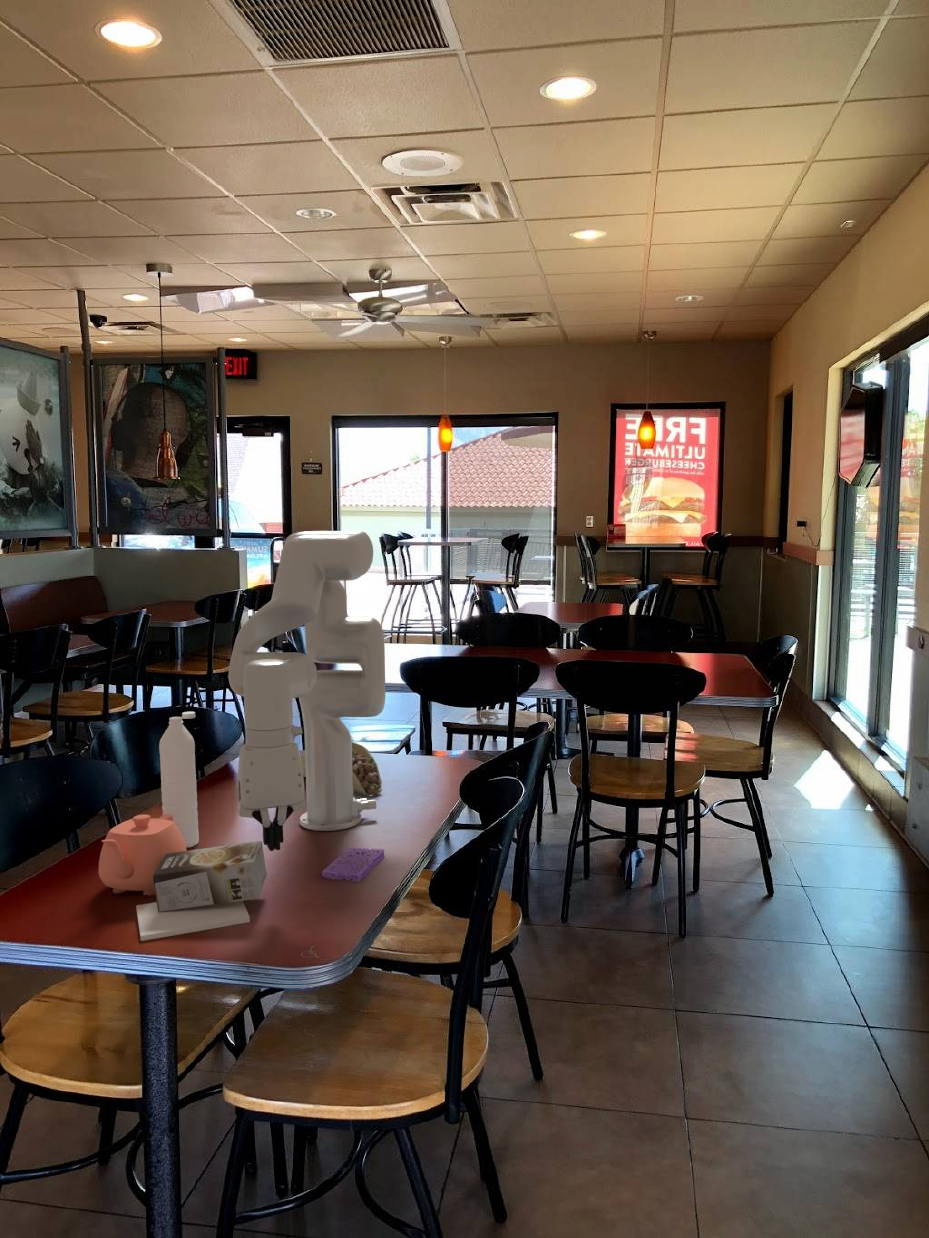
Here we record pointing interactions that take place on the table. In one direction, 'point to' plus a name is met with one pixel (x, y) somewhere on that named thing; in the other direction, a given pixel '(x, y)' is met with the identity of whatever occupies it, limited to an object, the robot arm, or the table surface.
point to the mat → (188, 919)
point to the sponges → (353, 864)
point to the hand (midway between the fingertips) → (273, 847)
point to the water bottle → (180, 778)
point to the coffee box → (210, 876)
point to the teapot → (137, 852)
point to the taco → (360, 771)
